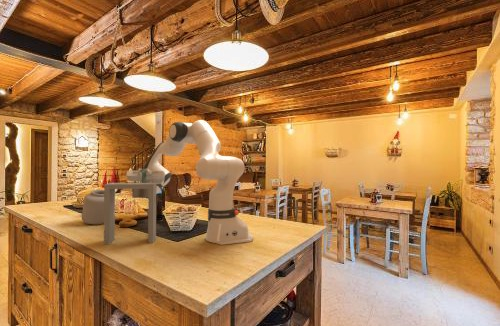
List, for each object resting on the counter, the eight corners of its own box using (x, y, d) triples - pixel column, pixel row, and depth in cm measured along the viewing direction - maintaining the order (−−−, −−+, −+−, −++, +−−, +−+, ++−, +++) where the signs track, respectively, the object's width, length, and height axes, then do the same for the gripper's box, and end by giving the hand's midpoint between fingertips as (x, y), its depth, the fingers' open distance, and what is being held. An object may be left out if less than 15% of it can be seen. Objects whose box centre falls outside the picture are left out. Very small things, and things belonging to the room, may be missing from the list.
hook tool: (154, 169, 139) (153, 168, 136) (153, 197, 136) (152, 197, 133) (135, 169, 137) (133, 168, 134) (133, 197, 134) (132, 197, 132)
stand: (155, 238, 118) (156, 182, 117) (152, 242, 111) (153, 184, 111) (109, 239, 114) (110, 182, 114) (103, 244, 107) (104, 184, 107)
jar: (121, 222, 146) (122, 179, 146) (96, 228, 133) (97, 181, 132) (101, 218, 154) (101, 178, 154) (75, 224, 141) (76, 179, 141)
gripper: (130, 175, 146) (123, 164, 134) (166, 175, 150) (163, 164, 138) (128, 185, 143) (121, 174, 131) (165, 184, 147) (162, 174, 135)
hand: (143, 169), depth 135 cm, fingers closed on hook tool, 2 cm apart
